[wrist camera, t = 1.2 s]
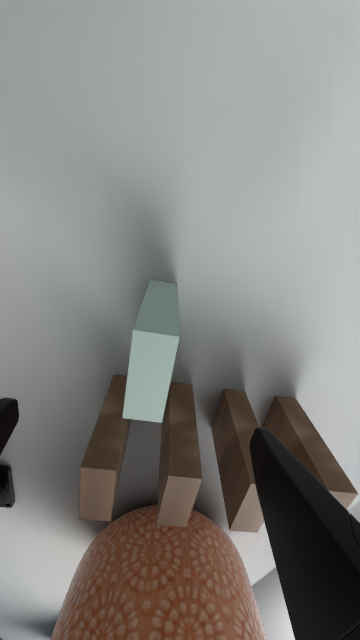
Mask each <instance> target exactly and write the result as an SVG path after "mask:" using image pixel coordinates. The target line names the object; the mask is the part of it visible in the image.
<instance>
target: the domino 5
mask: <svg viewBox="0 0 360 640" xmlns="http://www.w3.org/2000/svg"><path fill="white" fill-rule="evenodd" d="M262 428H267V429H268V430H269V431H270V432H271V433H272V434H273V435H274V436H275V437H276V438H277V439H278V440H279V441H280V442H281V443H282V444H283V445H284V446H285V447H286V448H287V449H288V450H289V451H290V452H291V453H292V454H293V455H294V456H295V457H296V458H297V460H298V461H299V462H300V463H301V464H302V465H303V466H304V467H305V468H306V469H307V470H308V471H309V472H310V473H311V474H312V475H313V476H314V477H315V478H316V479H317V480H318V481H319V482H320V483H321V484H322V485H323V486H324V487H325V488H326V489H327V490H328V491H329V492H330V493H331V494H332V495H333V496H334V497H335V498H336V499H337V500H338V501H339V502H340V503H341V504H342V505H343V506H344V507H345V508H346V509H347V508H348V507H349V505H350V504H351V503H352V501H353V500H354V499H355V497H356V496H357V495H358V493H357V491H356V490H355V488H354V487H353V485H352V483H351V482H350V480H349V479H348V477H347V476H346V474H345V473H344V471H343V470H342V468H341V467H340V465H339V464H338V462H337V461H336V459H335V458H334V456H333V454H332V453H331V451H330V450H329V448H328V447H327V445H326V444H325V442H324V441H323V439H322V438H321V436H320V435H319V433H318V432H317V430H316V429H315V427H314V426H313V424H312V422H311V421H310V419H309V418H308V416H307V415H306V413H305V412H304V410H303V409H302V407H301V406H300V404H299V403H298V401H297V400H296V399H295V398H287V397H280V396H276V397H275V399H274V401H273V404H272V406H271V408H270V411H269V413H268V415H267V418H266V420H265V422H264V425H263V427H262Z"/></svg>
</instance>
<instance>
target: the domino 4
mask: <svg viewBox="0 0 360 640" xmlns="http://www.w3.org/2000/svg"><path fill="white" fill-rule="evenodd" d="M257 427H259V426H258V423H257V421H256V418H255V416H254V413H253V410H252V408H251V405H250V403H249V400H248V398H247V395H246V393H245V392H242V391H234V390H227V389H224V391H223V394H222V398H221V401H220V404H219V407H218V410H217V413H216V416H215V419H214V423H213V426H212V434H213V440H214V446H215V451H216V457H217V463H218V468H219V474H220V480H221V485H222V491H223V497H224V502H225V508H226V514H227V519H228V525H229V530H231V531H244V532H257V533H258V531H259V529H260V527H261V525H262V523H263V522H264V518H263V514H262V510H261V506H260V502H259V498H258V494H257V490H256V485H255V479H254V473H253V467H252V461H251V454H250V448H249V443H250V440H251V437H252V435H253V433H254V430H255V428H257Z"/></svg>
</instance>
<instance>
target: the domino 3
mask: <svg viewBox="0 0 360 640" xmlns="http://www.w3.org/2000/svg"><path fill="white" fill-rule="evenodd" d="M201 481H202V471H201V462H200V453H199V444H198V434H197V425H196V416H195V407H194V397H193V388H192V385H189V384H182V383H174V382H170V386H169V391H168V396H167V400H166V405H165V410H164V415H163V420H162V430H161V448H160V466H159V485H158V503H157V521H156V525H164V526H177V527H186V526H187V523H188V520H189V517H190V514H191V511H192V508H193V505H194V502H195V499H196V496H197V493H198V490H199V487H200V484H201Z"/></svg>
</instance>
